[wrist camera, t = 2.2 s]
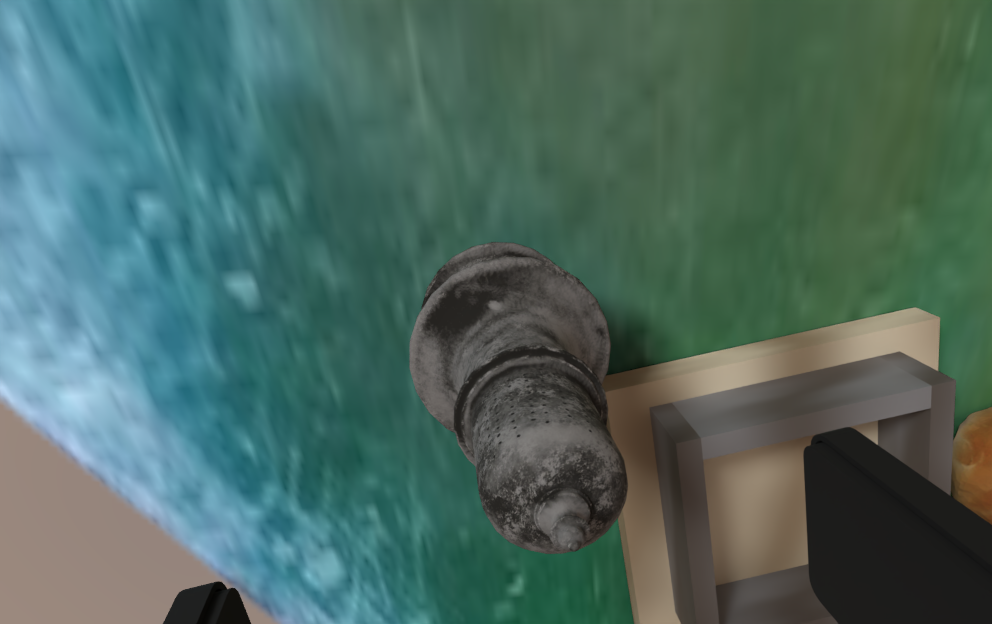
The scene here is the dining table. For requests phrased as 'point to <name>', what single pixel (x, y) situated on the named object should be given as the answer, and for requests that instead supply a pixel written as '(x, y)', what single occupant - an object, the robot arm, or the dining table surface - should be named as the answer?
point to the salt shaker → (523, 393)
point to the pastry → (974, 464)
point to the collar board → (762, 460)
